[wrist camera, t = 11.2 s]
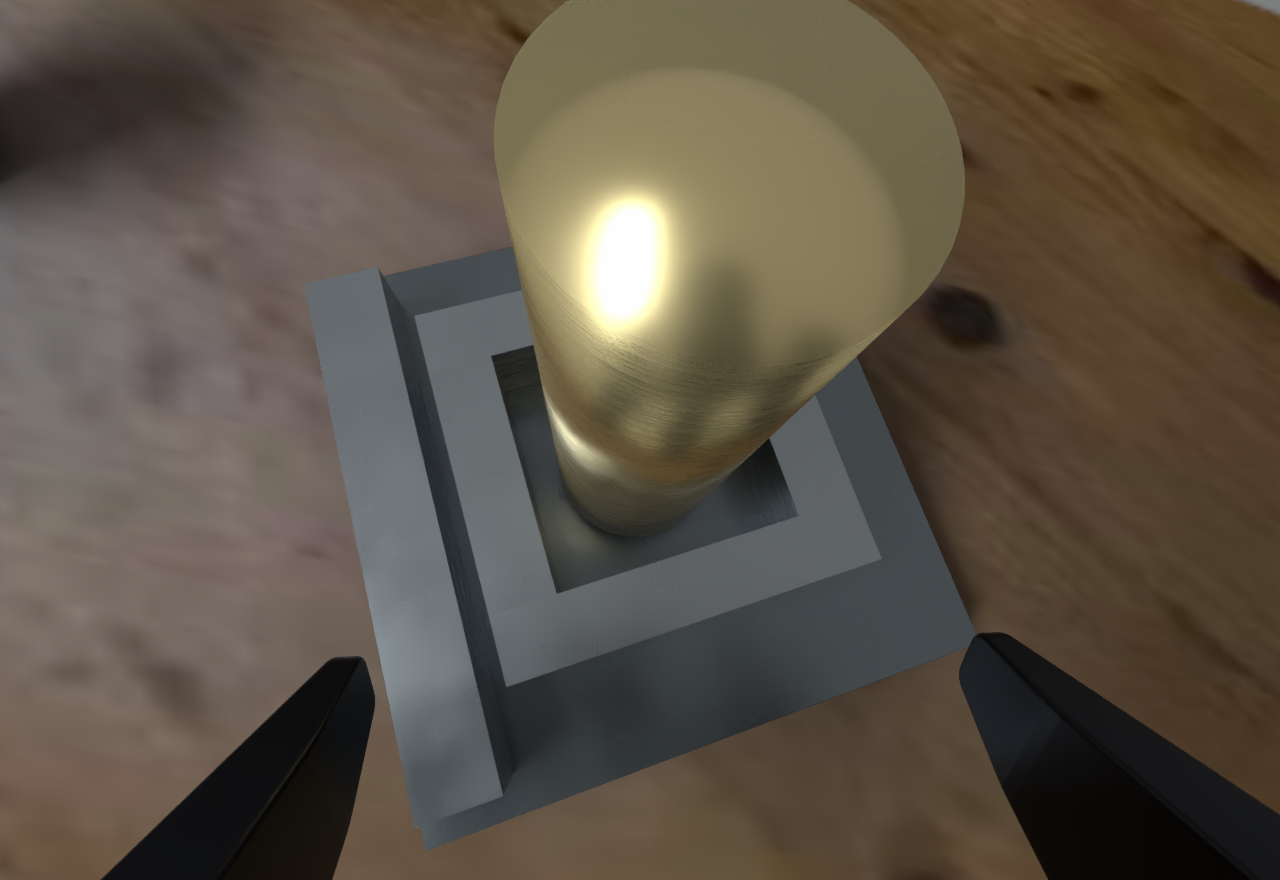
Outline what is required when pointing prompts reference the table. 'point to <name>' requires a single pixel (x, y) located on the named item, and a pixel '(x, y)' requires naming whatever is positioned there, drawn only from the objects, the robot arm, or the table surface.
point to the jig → (596, 560)
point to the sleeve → (711, 227)
